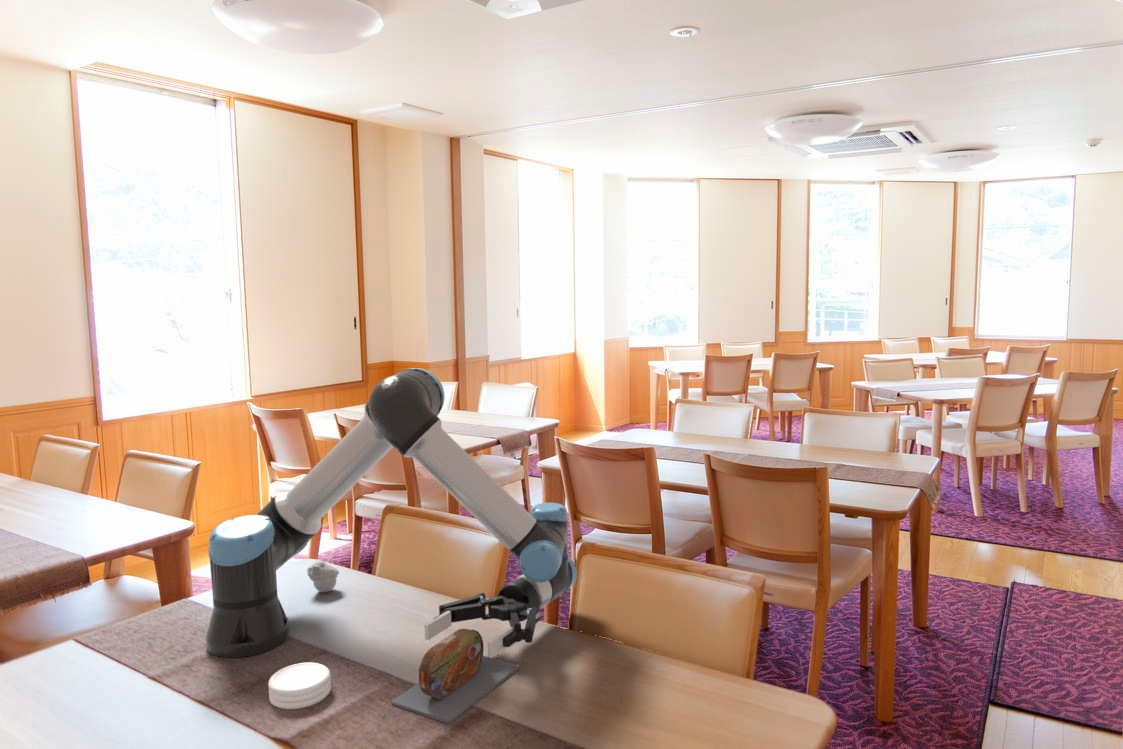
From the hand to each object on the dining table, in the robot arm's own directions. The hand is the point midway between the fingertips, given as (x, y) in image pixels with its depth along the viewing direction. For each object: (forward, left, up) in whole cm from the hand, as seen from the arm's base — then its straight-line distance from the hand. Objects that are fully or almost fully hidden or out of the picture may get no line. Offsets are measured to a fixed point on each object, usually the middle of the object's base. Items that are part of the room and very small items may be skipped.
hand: (456, 641), depth 132 cm
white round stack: (-22, -15, -8) cm, 28 cm away
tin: (0, -1, -8) cm, 8 cm away
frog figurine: (-52, +18, -8) cm, 56 cm away
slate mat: (0, 0, -8) cm, 8 cm away
